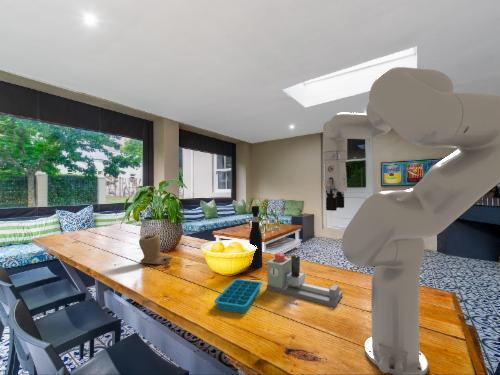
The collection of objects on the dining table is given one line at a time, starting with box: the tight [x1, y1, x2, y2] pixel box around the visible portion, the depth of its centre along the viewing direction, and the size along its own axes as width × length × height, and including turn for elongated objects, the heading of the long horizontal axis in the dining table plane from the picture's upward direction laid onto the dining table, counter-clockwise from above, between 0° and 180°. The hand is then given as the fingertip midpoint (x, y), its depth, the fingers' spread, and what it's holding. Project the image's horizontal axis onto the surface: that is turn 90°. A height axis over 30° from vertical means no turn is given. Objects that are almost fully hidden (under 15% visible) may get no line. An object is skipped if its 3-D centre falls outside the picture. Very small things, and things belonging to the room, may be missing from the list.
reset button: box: [274, 253, 286, 263], centre depth 97 cm, size 4×4×6 cm
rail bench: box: [266, 256, 343, 308], centre depth 91 cm, size 10×26×10 cm, turn 56°
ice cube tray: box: [214, 278, 263, 314], centre depth 87 cm, size 12×20×3 cm, turn 162°
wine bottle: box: [248, 205, 263, 269], centre depth 121 cm, size 6×6×30 cm
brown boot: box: [138, 233, 173, 265], centre depth 128 cm, size 15×12×15 cm
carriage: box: [286, 254, 306, 288], centre depth 93 cm, size 6×5×11 cm
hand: (335, 209), depth 81 cm, fingers open, 9 cm apart
